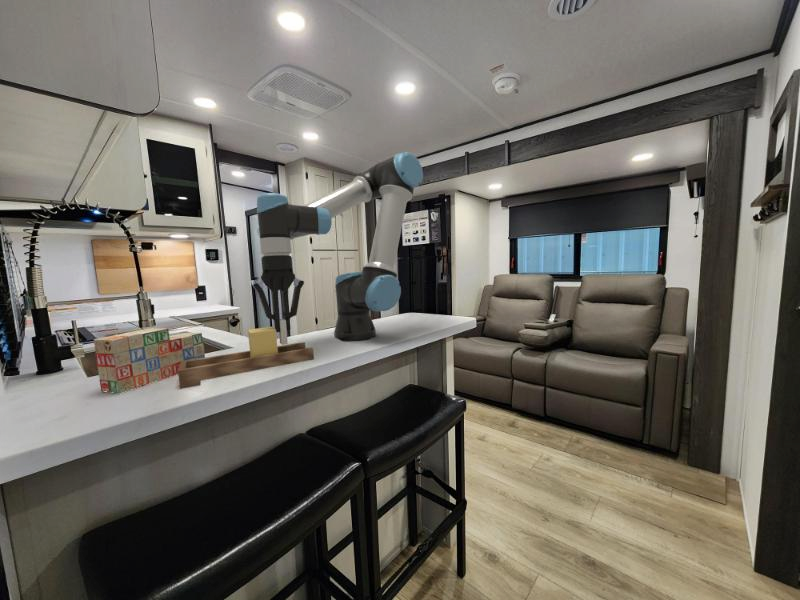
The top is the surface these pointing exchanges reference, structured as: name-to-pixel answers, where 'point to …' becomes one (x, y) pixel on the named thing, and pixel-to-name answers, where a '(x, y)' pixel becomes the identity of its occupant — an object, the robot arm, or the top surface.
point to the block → (262, 341)
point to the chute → (239, 363)
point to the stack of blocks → (143, 357)
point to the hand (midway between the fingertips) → (283, 343)
